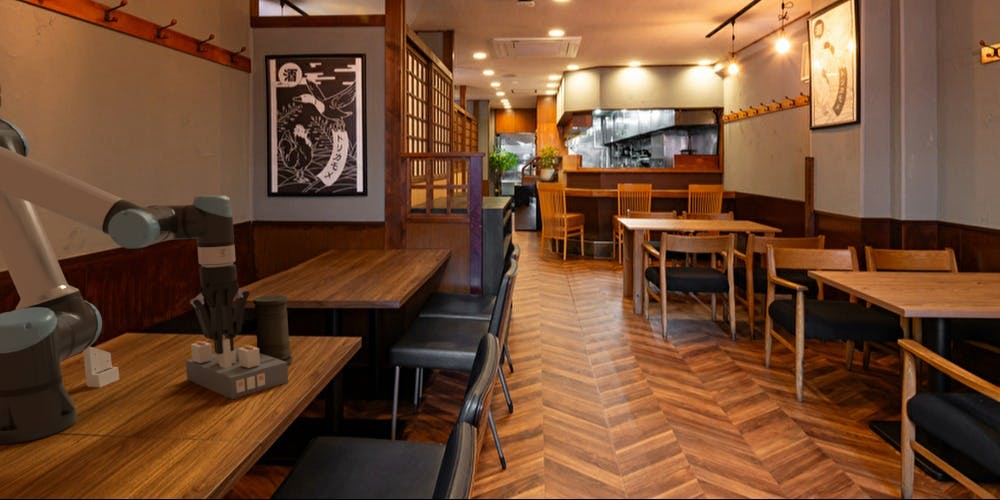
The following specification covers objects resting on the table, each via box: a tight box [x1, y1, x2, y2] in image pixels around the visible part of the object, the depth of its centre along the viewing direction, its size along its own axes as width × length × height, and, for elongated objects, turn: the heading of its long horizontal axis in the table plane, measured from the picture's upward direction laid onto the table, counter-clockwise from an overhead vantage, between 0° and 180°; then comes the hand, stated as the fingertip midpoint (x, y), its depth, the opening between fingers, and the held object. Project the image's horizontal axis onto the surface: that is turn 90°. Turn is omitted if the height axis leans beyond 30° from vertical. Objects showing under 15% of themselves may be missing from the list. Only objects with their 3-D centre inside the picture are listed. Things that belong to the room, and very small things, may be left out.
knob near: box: [238, 344, 260, 368], centre depth 142 cm, size 3×4×4 cm
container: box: [252, 294, 294, 366], centre depth 159 cm, size 9×9×18 cm
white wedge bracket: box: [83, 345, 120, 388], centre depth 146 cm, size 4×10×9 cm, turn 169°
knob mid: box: [214, 345, 236, 364], centre depth 145 cm, size 3×4×4 cm
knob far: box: [190, 340, 213, 363], centre depth 147 cm, size 3×4×4 cm
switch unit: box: [185, 346, 289, 400], centre depth 147 cm, size 14×22×5 cm, turn 51°
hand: (225, 366), depth 138 cm, fingers closed
